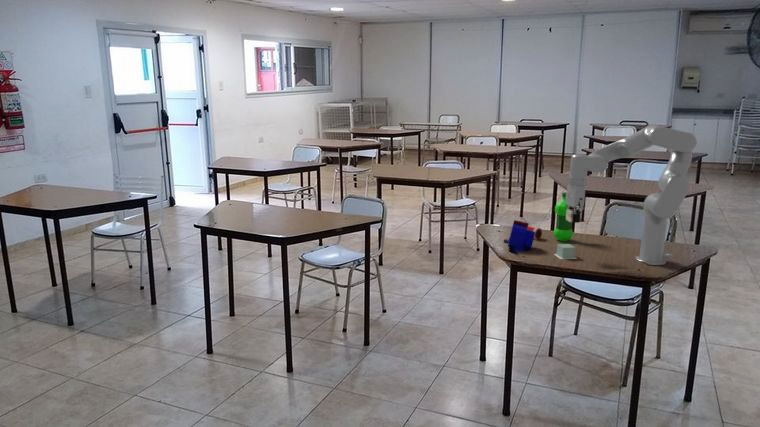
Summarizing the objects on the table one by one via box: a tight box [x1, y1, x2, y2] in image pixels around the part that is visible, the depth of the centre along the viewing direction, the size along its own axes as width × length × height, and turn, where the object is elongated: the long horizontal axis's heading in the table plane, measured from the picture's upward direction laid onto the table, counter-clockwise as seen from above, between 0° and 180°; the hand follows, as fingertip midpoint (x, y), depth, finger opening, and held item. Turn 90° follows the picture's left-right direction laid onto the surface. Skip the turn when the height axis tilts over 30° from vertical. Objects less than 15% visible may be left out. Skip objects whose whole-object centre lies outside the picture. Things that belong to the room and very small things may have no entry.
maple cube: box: [566, 209, 583, 223], centre depth 259 cm, size 5×5×5 cm
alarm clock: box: [507, 219, 535, 254], centre depth 275 cm, size 12×12×15 cm
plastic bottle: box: [553, 191, 574, 242], centre depth 293 cm, size 10×10×25 cm
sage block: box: [555, 243, 576, 258], centre depth 262 cm, size 6×6×5 cm
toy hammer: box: [503, 225, 543, 244], centre depth 296 cm, size 23×12×6 cm, turn 127°
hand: (573, 220), depth 260 cm, fingers closed on maple cube, 4 cm apart
